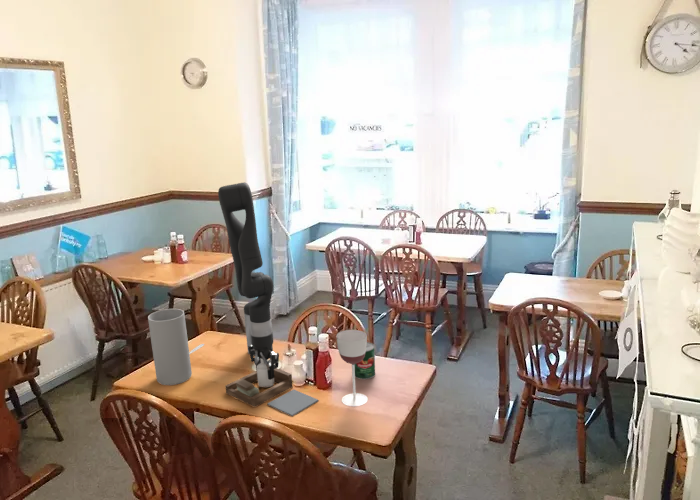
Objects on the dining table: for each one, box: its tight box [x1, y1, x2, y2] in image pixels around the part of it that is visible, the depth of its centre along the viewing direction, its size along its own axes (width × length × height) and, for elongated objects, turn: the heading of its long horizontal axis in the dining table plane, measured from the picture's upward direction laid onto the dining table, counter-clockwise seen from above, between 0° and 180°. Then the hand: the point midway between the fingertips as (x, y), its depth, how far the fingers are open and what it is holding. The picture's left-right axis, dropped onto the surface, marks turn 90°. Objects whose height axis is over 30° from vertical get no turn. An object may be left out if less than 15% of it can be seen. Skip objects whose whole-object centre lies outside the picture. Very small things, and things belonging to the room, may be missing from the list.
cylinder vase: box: [147, 308, 193, 386], centre depth 208 cm, size 12×12×25 cm
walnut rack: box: [224, 368, 293, 408], centre depth 199 cm, size 17×16×5 cm
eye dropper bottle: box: [257, 358, 275, 388], centre depth 200 cm, size 4×6×12 cm
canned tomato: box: [354, 341, 376, 380], centre depth 206 cm, size 8×8×11 cm
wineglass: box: [336, 329, 369, 407], centre depth 187 cm, size 9×10×23 cm
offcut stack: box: [234, 379, 260, 397], centre depth 195 cm, size 4×9×5 cm, turn 46°
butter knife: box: [189, 343, 205, 355], centre depth 229 cm, size 1×27×3 cm
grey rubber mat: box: [267, 389, 320, 417], centre depth 190 cm, size 12×12×1 cm
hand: (265, 376), depth 201 cm, fingers closed on eye dropper bottle, 5 cm apart
